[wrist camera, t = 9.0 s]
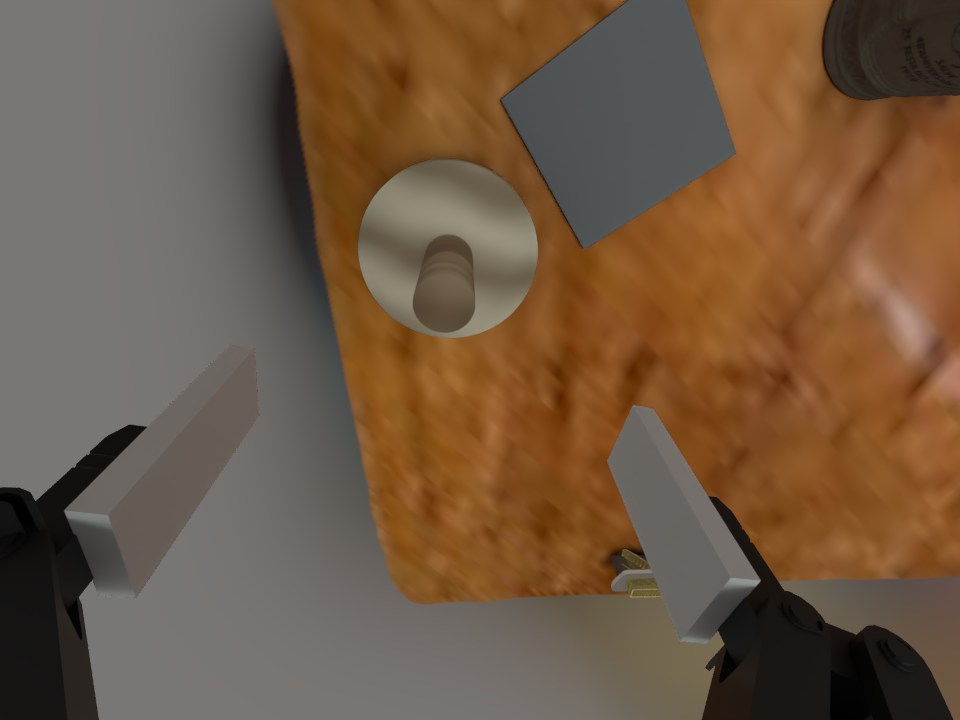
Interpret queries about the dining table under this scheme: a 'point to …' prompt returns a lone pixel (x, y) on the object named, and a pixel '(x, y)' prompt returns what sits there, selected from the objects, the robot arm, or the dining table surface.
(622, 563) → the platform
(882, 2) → the beer stein
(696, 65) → the mat
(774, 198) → the dining table surface
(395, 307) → the lid
